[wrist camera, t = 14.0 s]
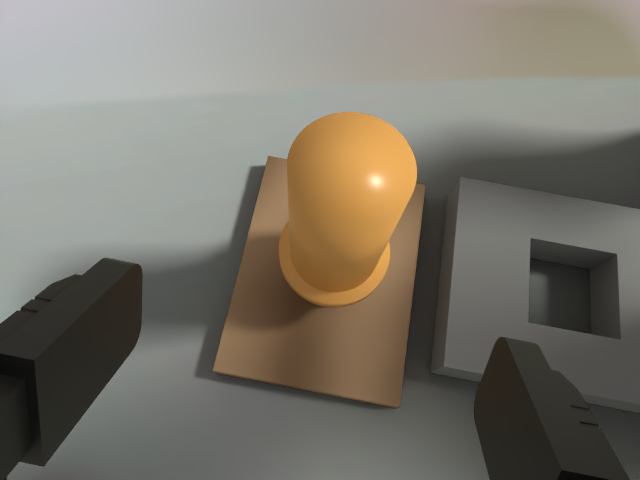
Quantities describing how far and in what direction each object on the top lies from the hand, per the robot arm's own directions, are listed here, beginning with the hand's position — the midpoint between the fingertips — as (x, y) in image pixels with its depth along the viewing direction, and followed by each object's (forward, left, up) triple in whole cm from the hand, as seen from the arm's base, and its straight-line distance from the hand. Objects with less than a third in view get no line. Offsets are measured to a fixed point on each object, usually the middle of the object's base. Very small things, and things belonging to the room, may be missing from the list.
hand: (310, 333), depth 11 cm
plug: (0, -6, -13) cm, 14 cm away
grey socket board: (-14, -7, -14) cm, 21 cm away
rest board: (0, -6, -14) cm, 15 cm away
